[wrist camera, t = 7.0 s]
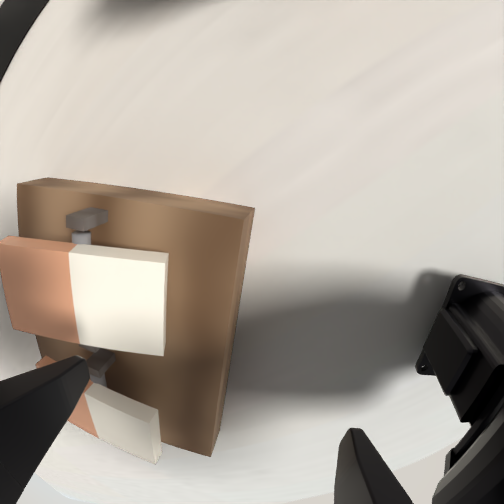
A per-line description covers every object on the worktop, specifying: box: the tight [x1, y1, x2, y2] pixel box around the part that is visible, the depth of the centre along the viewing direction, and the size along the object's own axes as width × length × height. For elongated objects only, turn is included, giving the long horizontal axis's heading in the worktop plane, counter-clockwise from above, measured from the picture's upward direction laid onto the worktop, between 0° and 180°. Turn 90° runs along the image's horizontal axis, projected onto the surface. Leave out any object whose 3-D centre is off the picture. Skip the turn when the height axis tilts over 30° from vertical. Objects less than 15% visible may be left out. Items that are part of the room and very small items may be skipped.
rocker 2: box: [36, 356, 162, 465], centre depth 16 cm, size 9×6×2 cm, turn 81°
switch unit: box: [17, 178, 255, 457], centre depth 17 cm, size 15×18×5 cm
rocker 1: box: [0, 230, 169, 356], centre depth 13 cm, size 9×6×2 cm, turn 81°
